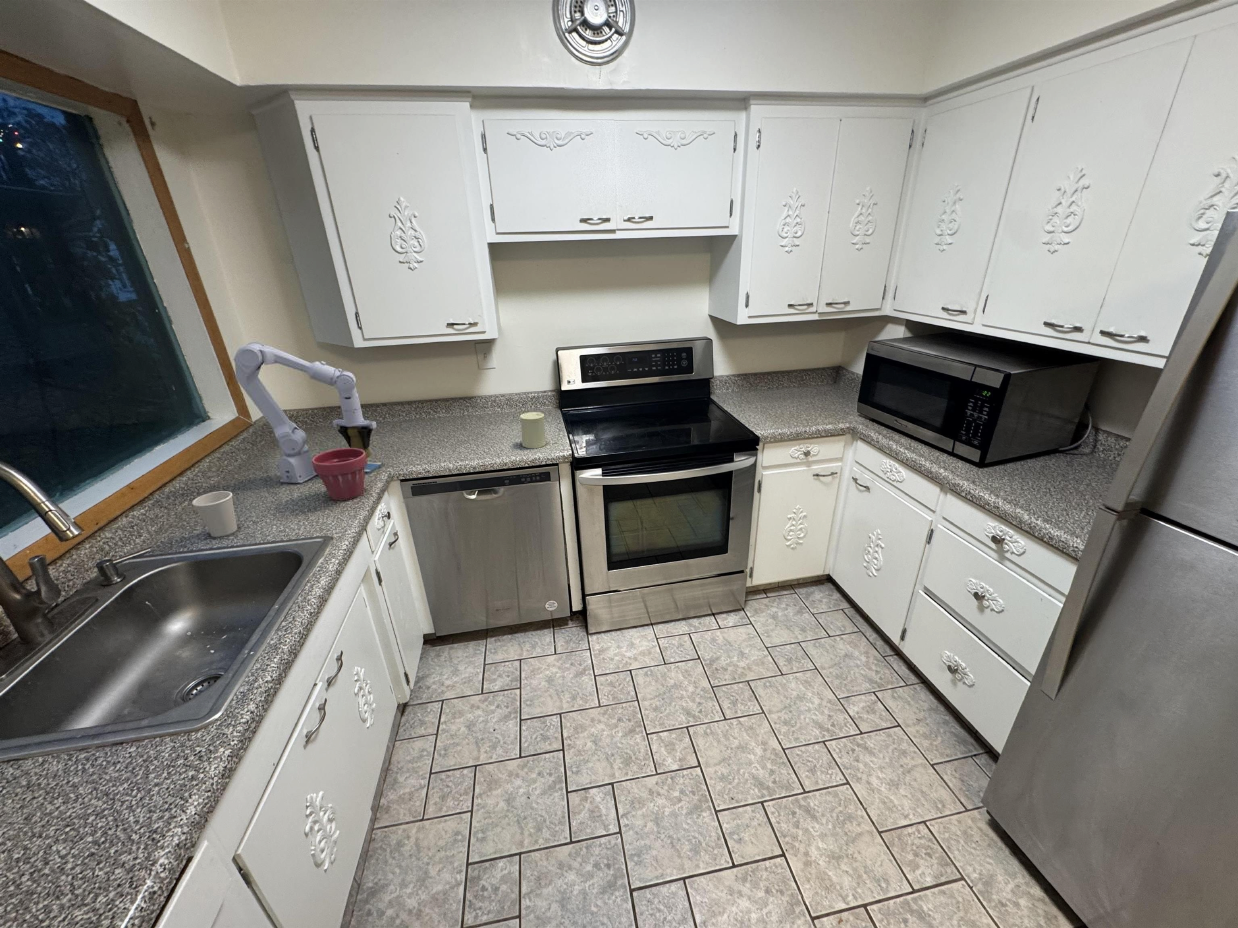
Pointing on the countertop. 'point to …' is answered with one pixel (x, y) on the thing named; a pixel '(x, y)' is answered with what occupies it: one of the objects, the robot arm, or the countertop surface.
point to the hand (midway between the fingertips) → (359, 447)
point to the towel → (371, 466)
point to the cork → (357, 440)
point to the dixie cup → (217, 512)
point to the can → (533, 430)
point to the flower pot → (341, 472)
